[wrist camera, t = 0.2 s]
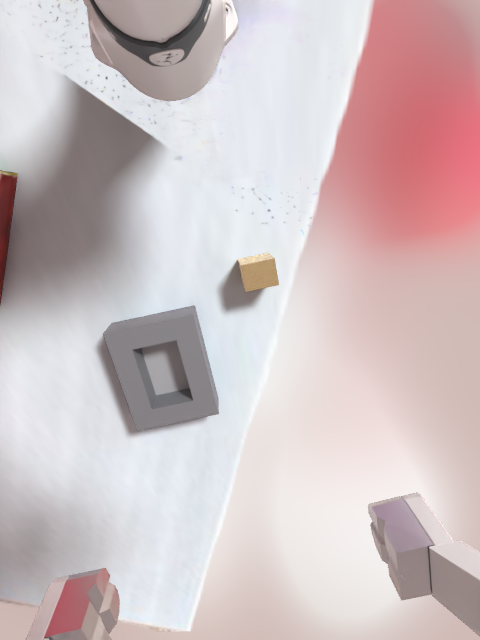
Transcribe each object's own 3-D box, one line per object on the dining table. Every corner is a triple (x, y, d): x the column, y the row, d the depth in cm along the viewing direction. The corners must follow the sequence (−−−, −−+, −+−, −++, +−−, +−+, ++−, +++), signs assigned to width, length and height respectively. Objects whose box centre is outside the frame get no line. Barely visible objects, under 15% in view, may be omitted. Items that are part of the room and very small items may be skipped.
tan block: (237, 259, 56) (240, 265, 51) (268, 252, 56) (274, 258, 51) (242, 283, 58) (245, 291, 52) (272, 276, 58) (278, 284, 52)
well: (111, 323, 58) (102, 333, 53) (194, 305, 58) (193, 314, 53) (142, 414, 64) (137, 431, 59) (218, 398, 64) (218, 413, 59)
